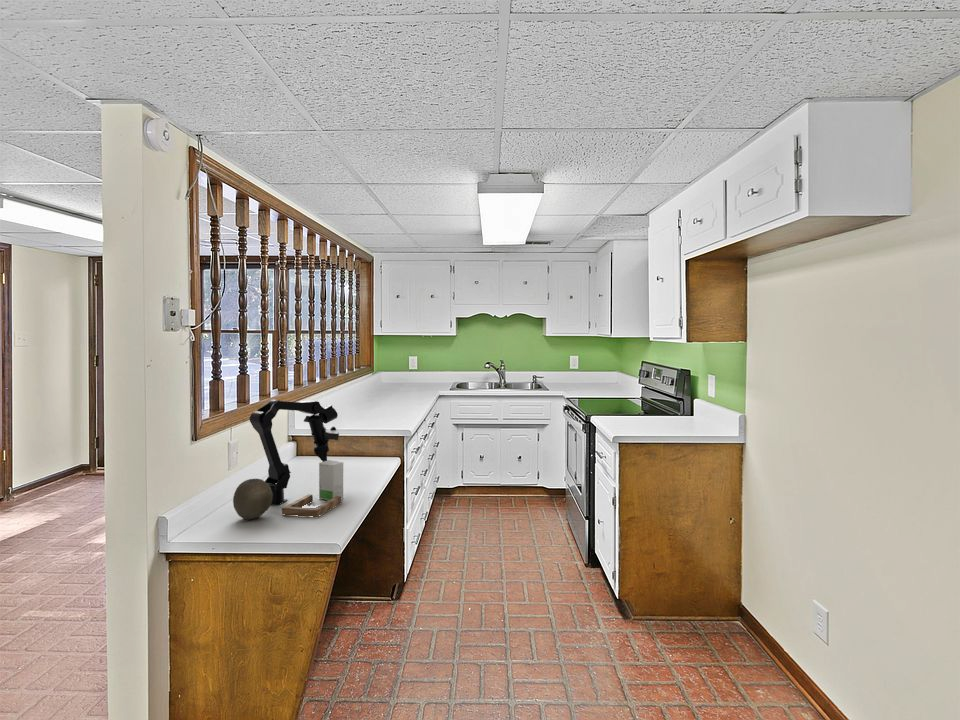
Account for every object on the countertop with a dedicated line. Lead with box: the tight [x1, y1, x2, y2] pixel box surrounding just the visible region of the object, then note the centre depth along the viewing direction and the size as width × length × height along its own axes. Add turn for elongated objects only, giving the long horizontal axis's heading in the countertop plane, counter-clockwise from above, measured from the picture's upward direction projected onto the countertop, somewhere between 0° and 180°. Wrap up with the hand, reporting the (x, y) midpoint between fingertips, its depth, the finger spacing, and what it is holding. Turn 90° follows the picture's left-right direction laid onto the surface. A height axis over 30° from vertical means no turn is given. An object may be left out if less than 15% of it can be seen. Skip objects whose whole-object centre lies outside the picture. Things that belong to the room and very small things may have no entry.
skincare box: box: [318, 459, 344, 501], centre depth 258 cm, size 8×7×16 cm
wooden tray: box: [281, 493, 342, 518], centre depth 243 cm, size 20×15×3 cm
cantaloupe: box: [232, 478, 273, 520], centre depth 232 cm, size 14×14×15 cm
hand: (326, 459), depth 274 cm, fingers open, 9 cm apart
